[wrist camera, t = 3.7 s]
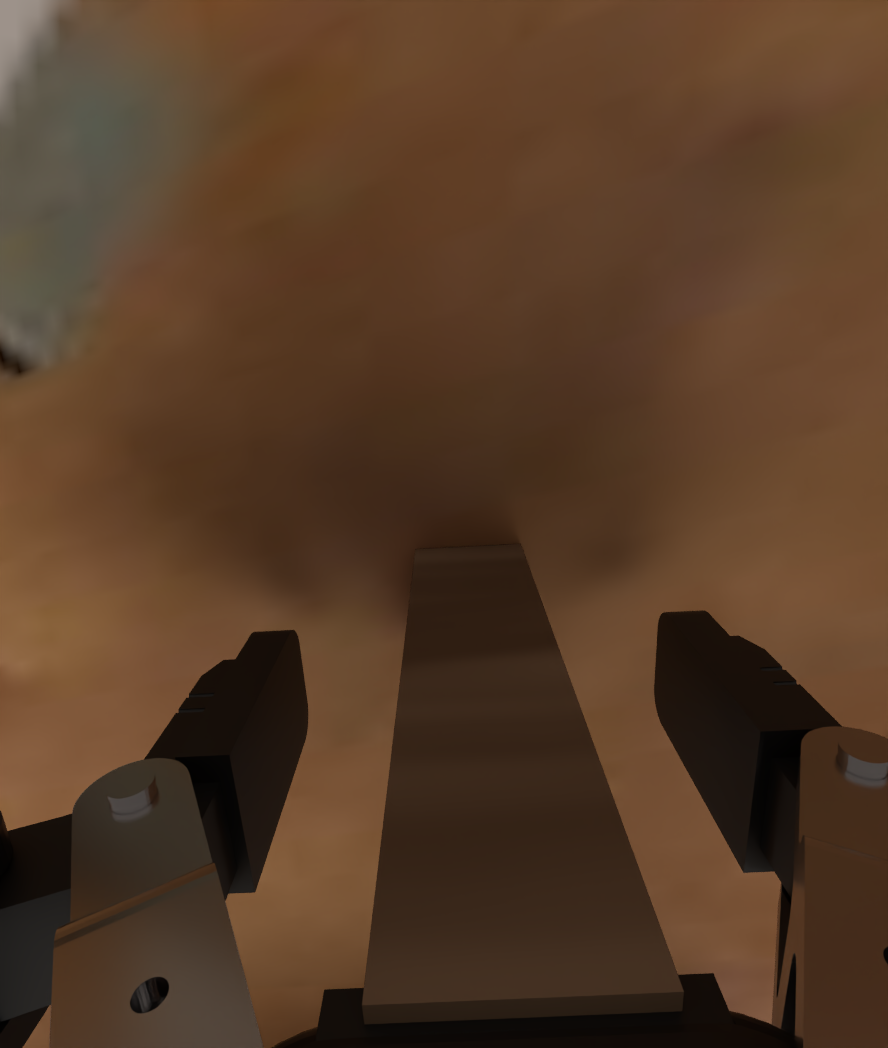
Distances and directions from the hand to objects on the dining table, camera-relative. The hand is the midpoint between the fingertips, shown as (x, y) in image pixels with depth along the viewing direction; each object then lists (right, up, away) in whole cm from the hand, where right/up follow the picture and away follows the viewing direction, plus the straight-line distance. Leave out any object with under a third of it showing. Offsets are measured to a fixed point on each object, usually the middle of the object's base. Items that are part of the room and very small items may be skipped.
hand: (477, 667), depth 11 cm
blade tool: (+1, -8, +6) cm, 10 cm away
